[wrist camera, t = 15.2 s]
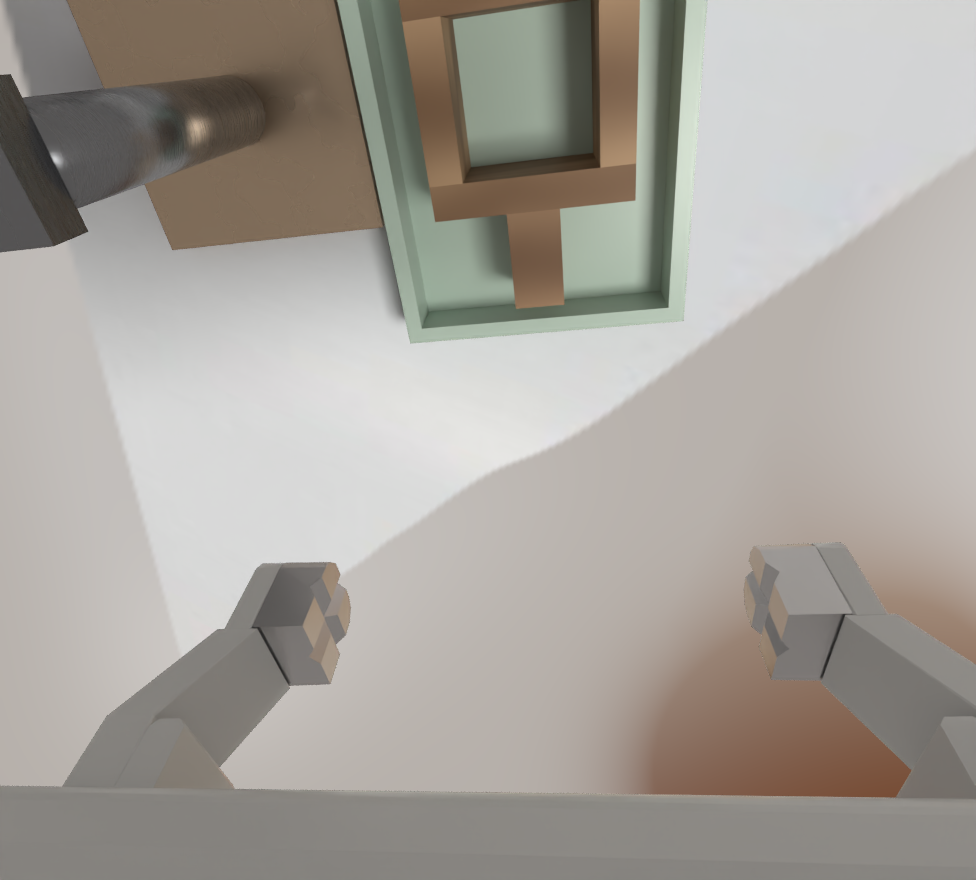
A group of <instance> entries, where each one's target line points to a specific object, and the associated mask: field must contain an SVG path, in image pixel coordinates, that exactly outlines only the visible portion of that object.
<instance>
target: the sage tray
mask: <svg viewBox="0 0 976 880" xmlns="http://www.w3.org/2000/svg"><path fill="white" fill-rule="evenodd" d="M337 1H338V6H339V11H340V15H341V20H342V25H343V29H344V34H345V39H346V43H347V48H348V53H349V58H350V62H351V67H352V72H353V76H354V81H355V86H356V90H357V95H358V100H359V105H360V109H361V114H362V119H363V123H364V128H365V133H366V137H367V142H368V147H369V152H370V156H371V161H372V166H373V170H374V175H375V180H376V184H377V189H378V194H379V199H380V203H381V208H382V213H383V217H384V222H385V227H386V231H387V236H388V241H389V246H390V250H391V255H392V260H393V264H394V269H395V274H396V278H397V283H398V288H399V293H400V297H401V302H402V307H403V311H404V316H405V321H406V325H407V330H408V335H409V340H410V343H422V342H434V341H446V340H458V339H470V338H483V337H495V336H507V335H519V334H531V333H544V332H556V331H568V330H580V329H592V328H605V327H617V326H629V325H641V324H654V323H666V322H678V321H684V308H685V294H686V281H687V267H688V254H689V241H690V227H691V214H692V200H693V187H694V174H695V160H696V147H697V133H698V120H699V106H700V93H701V80H702V66H703V53H704V39H705V26H706V13H707V0H640V20H639V65H638V110H637V155H636V200H635V201H627V202H618V203H609V204H599V205H590V206H581V207H572V208H563V209H560V219H561V241H562V262H563V283H564V304H565V305H555V306H543V307H532V308H520V309H516V306H515V296H514V285H513V275H512V265H511V255H510V244H509V234H508V224H507V215H498V216H489V217H479V218H470V219H461V220H452V221H442V222H435V218H434V212H433V206H432V200H431V194H430V188H429V182H428V176H427V170H426V164H425V158H424V152H423V146H422V140H421V133H420V127H419V121H418V115H417V109H416V103H415V97H414V91H413V85H412V79H411V73H410V67H409V61H408V55H407V49H406V43H405V37H404V31H403V24H402V18H401V12H400V6H399V0H337ZM453 26H454V34H455V42H456V50H457V58H458V66H459V74H460V82H461V90H462V98H463V106H464V114H465V122H466V130H467V138H468V146H469V154H470V162H471V167H478V166H487V165H495V164H503V163H512V162H520V161H528V160H537V159H545V158H553V157H562V156H570V155H579V154H587V153H593V114H592V52H591V0H577V1H571V2H564V3H558V4H551V5H545V6H538V7H531V8H525V9H518V10H512V11H505V12H499V13H492V14H486V15H479V16H473V17H466V18H459V19H453Z"/></svg>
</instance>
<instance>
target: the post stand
mask: <svg viewBox="0 0 976 880" xmlns="http://www.w3.org/2000/svg"><path fill="white" fill-rule="evenodd" d="M67 2H68V4H69V7H70V9H71V11H72V14H73V16H74V18H75V21H76V23H77V25H78V28H79V30H80V33H81V35H82V37H83V40H84V42H85V44H86V47H87V49H88V51H89V54H90V56H91V59H92V61H93V63H94V66H95V68H96V70H97V73H98V75H99V78H100V80H101V82H102V85H103V87H104V89H97V90H88V91H79V92H70V93H60V94H51V95H42V96H33V97H24V98H22V96H21V94H20V92H19V90H18V88H17V86H16V84H15V82H14V80H13V78H12V76H11V74H9V75H0V252H7V251H16V250H24V249H33V248H42V247H51V246H55V245H58V244H60V243H63V242H65V241H67V240H70V239H72V238H74V237H77V236H79V235H81V234H84V233H86V232H88V230H87V228H86V226H85V224H84V222H83V220H82V218H81V216H80V214H79V212H78V210H77V208H80V207H83V206H86V205H88V204H91V203H94V202H97V201H99V200H102V199H105V198H108V197H110V196H113V195H116V194H118V193H121V192H124V191H127V190H129V189H132V188H135V187H138V186H140V185H143V184H145V186H146V189H147V191H148V193H149V196H150V198H151V201H152V203H153V205H154V208H155V210H156V212H157V215H158V217H159V219H160V222H161V224H162V227H163V229H164V231H165V234H166V236H167V238H168V241H169V243H170V245H171V248H172V250H178V249H187V248H196V247H205V246H215V245H224V244H233V243H242V242H251V241H261V240H270V239H279V238H288V237H297V236H307V235H316V234H325V233H334V232H344V231H353V230H362V229H371V228H380V227H383V226H384V225H385V222H384V217H383V213H382V208H381V203H380V199H379V194H378V189H377V184H376V180H375V175H374V170H373V166H372V161H371V156H370V152H369V147H368V142H367V137H366V133H365V128H364V123H363V119H362V114H361V109H360V105H359V100H358V95H357V90H356V86H355V81H354V76H353V72H352V67H351V62H350V58H349V53H348V48H347V43H346V39H345V34H344V29H343V25H342V20H341V15H340V11H339V6H338V1H337V0H67Z"/></svg>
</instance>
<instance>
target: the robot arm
mask: <svg viewBox="0 0 976 880" xmlns="http://www.w3.org/2000/svg"><path fill="white" fill-rule="evenodd" d="M749 562H750V565H751V567H752V570H753V571H752V572H751V573H750V574H748V575H747V576H746V578H745V585H744V602H745V607H746V612H747V616H748V618H749V621H750V624H751V627H752V628H754V629H755V630H756V631H757V632H759V633H760V634H761V635H762V636H761V641H760V645H759V649H760V652H761V654H762V657H763V660H764V662H765V665H766V667H767V670H768V673H769V675H770V678H771V680H821V683H822V684H823V685H824V686H825V687H826V688H827V689H828V690H829V691H830V692H831V693H832V694H833V695H834V696H835V697H836V698H837V699H838V700H839V701H840V702H842V704H843V705H845V706H846V707H847V708H848V709H849V710H850V711H851V712H852V713H853V714H854V715H855V716H856V717H857V718H858V719H859V720H860V721H861V722H862V723H863V724H864V725H865V726H866V727H868V728H869V729H870V730H871V731H872V732H873V733H874V734H875V735H876V736H877V737H878V738H879V739H880V740H881V741H882V742H883V743H884V744H885V745H886V746H887V747H888V748H889V749H890V750H891V751H892V752H894V753H895V754H896V755H897V756H898V757H899V758H900V759H901V760H902V761H903V762H904V763H905V764H906V765H907V766H908V767H909V768H910V769H911V770H912V771H911V773H910V775H909V776H908V778H907V780H906V782H905V783H904V785H903V786H902V788H901V790H900V791H899V793H898V795H897V797H896V798H866V797H792V796H785V797H784V796H718V795H711V796H710V795H646V794H640V795H639V794H576V793H498V792H419V791H417V792H415V791H344V790H342V791H340V790H268V789H267V790H265V789H261V790H260V789H234V786H233V784H232V783H231V782H230V781H229V779H228V778H227V777H226V775H225V774H224V773H223V772H222V771H221V769H220V768H219V767H220V766H221V765H222V764H223V763H224V762H225V761H226V759H227V758H228V757H229V756H230V755H231V754H232V753H233V751H234V750H235V749H236V748H237V747H238V746H239V745H240V743H242V741H243V740H244V739H245V738H246V737H247V736H248V735H249V734H250V732H251V731H252V730H253V729H254V728H255V727H256V726H257V724H258V723H259V722H260V721H261V720H262V719H263V718H264V717H265V716H266V714H267V713H268V712H269V711H270V710H271V709H272V708H273V707H274V705H275V704H276V703H277V702H278V701H279V700H280V699H281V697H282V696H283V695H284V694H285V693H286V692H287V691H288V690H289V689H290V687H289V686H293V685H320V684H330V683H331V681H332V677H333V674H334V671H335V668H336V665H337V661H338V659H339V656H340V654H339V651H338V649H337V647H336V644H337V643H338V642H339V641H340V640H341V639H342V638H343V637H344V636H345V635H346V633H347V629H348V626H349V623H350V610H351V607H350V601H349V596H348V593H347V591H346V589H345V588H344V587H342V586H341V585H340V584H338V580H339V577H340V572H339V570H338V568H337V566H336V563H331V562H310V563H263V564H261V565H260V566H259V567H258V568H257V569H256V570H255V572H254V574H253V576H252V578H251V579H250V581H249V583H248V585H247V587H246V589H245V591H244V593H243V595H242V597H241V599H240V600H239V602H238V604H237V606H236V608H235V610H234V612H233V614H232V616H231V618H230V620H229V621H228V623H227V625H226V627H225V629H217V630H216V631H215V632H214V633H212V634H211V635H210V636H209V637H207V638H206V639H205V640H203V641H202V642H201V643H200V644H198V645H197V646H196V647H194V648H193V649H192V650H191V651H189V652H188V653H187V654H185V655H184V656H183V657H182V658H180V659H179V660H178V661H177V662H175V663H174V664H173V665H171V666H170V667H169V668H168V669H166V670H165V671H164V672H163V673H161V674H160V675H159V676H157V677H156V678H155V679H154V680H152V681H151V682H150V683H148V684H147V685H146V686H145V687H143V688H142V689H141V690H140V691H138V692H137V693H136V694H134V695H133V696H132V697H131V698H129V699H128V700H127V701H125V702H124V703H123V704H122V705H120V706H119V707H118V708H117V709H115V710H114V711H113V712H111V713H110V714H109V715H107V716H106V718H105V720H104V721H103V723H102V724H101V726H100V727H99V729H98V731H97V732H96V734H95V736H94V737H93V739H92V740H91V742H90V743H89V745H88V746H87V748H86V750H85V751H84V753H83V754H82V756H81V758H80V759H79V761H78V763H77V764H76V766H75V767H74V769H73V770H72V772H71V773H70V775H69V777H68V778H67V780H66V781H65V783H64V785H63V786H62V787H54V786H0V880H976V665H975V664H974V663H972V662H971V661H969V660H968V659H966V658H964V657H963V656H962V655H960V654H958V653H957V652H955V651H954V650H952V649H951V648H949V647H948V646H946V645H945V644H943V643H942V642H940V641H938V640H937V639H935V638H934V637H932V636H931V635H929V634H928V633H926V632H925V631H923V630H921V629H920V628H918V627H917V626H915V625H914V624H912V623H911V622H909V621H908V620H906V619H904V618H903V617H901V616H900V615H898V614H888V613H887V611H886V610H885V608H884V606H883V605H882V603H881V601H880V600H879V598H878V597H877V595H876V593H875V592H874V590H873V589H872V587H871V585H870V584H869V582H868V581H867V579H866V577H865V576H864V574H863V572H862V571H861V569H860V568H859V566H858V564H857V563H856V561H855V560H854V558H853V556H852V555H851V553H850V552H849V550H848V548H847V547H846V546H845V545H844V544H842V543H841V542H835V543H812V544H787V545H765V546H754V547H753V549H752V550H751V552H750V558H749Z"/></svg>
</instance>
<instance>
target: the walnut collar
mask: <svg viewBox="0 0 976 880" xmlns="http://www.w3.org/2000/svg"><path fill="white" fill-rule="evenodd" d="M571 1H577V0H399V6H400V12H401V18H402V24H403V31H404V37H405V43H406V49H407V55H408V61H409V67H410V73H411V79H412V85H413V91H414V97H415V103H416V109H417V115H418V121H419V127H420V133H421V140H422V146H423V152H424V158H425V164H426V170H427V176H428V182H429V188H430V194H431V200H432V206H433V212H434V218H435V222H442V221H452V220H461V219H470V218H479V217H489V216H498V215H507V224H508V234H509V244H510V255H511V265H512V275H513V285H514V296H515V306H516V309H520V308H532V307H543V306H555V305H565V304H564V283H563V262H562V241H561V219H560V209H563V208H572V207H581V206H590V205H599V204H609V203H618V202H627V201H635V200H636V155H637V110H638V65H639V20H640V0H591V52H592V114H593V153H587V154H579V155H570V156H562V157H553V158H545V159H537V160H528V161H520V162H512V163H503V164H495V165H487V166H478V167H471V162H470V154H469V146H468V138H467V130H466V122H465V114H464V106H463V98H462V90H461V82H460V74H459V66H458V58H457V50H456V42H455V34H454V26H453V19H459V18H466V17H473V16H479V15H486V14H492V13H499V12H505V11H512V10H518V9H525V8H531V7H538V6H545V5H551V4H558V3H564V2H571Z"/></svg>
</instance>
